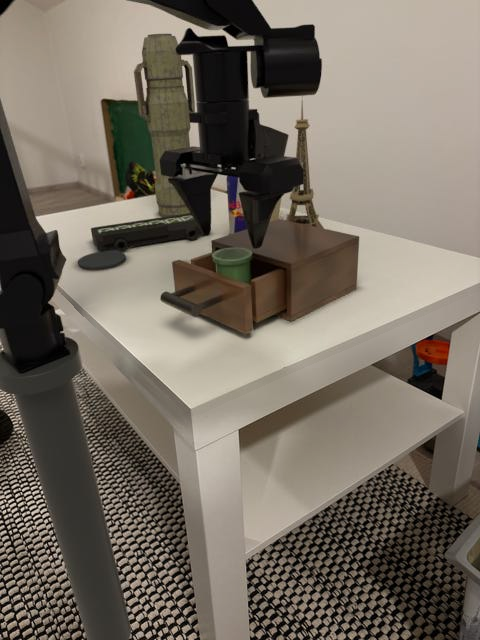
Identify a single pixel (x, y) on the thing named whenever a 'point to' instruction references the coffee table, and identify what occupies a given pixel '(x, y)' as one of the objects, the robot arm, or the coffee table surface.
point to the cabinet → (304, 262)
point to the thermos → (165, 110)
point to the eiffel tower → (307, 194)
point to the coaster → (102, 260)
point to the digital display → (145, 232)
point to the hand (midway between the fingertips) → (230, 240)
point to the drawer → (227, 292)
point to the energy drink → (235, 205)
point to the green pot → (233, 263)
